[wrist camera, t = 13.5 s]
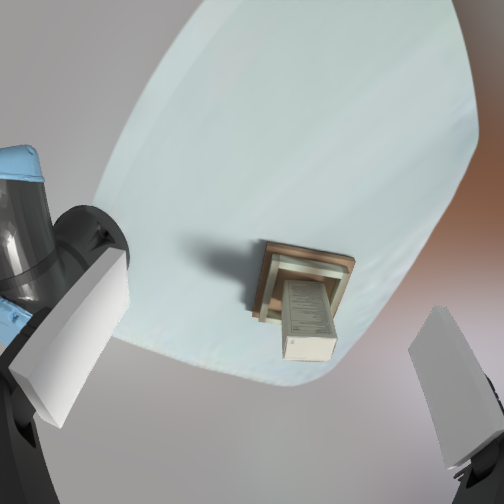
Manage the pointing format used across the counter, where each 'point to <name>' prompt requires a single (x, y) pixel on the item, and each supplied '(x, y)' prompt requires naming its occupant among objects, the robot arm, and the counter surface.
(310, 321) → the skincare box
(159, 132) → the counter surface
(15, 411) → the robot arm
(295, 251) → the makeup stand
